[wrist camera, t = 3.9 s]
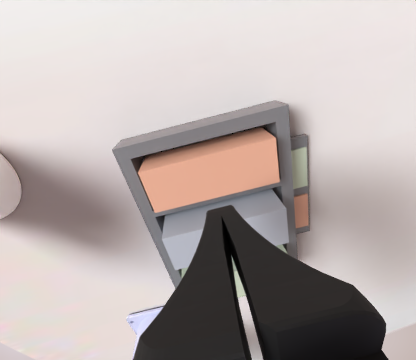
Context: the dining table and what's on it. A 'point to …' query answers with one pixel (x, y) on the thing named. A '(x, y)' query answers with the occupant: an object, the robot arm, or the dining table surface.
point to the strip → (300, 181)
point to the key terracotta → (210, 169)
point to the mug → (8, 188)
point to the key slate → (195, 217)
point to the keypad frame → (198, 131)
